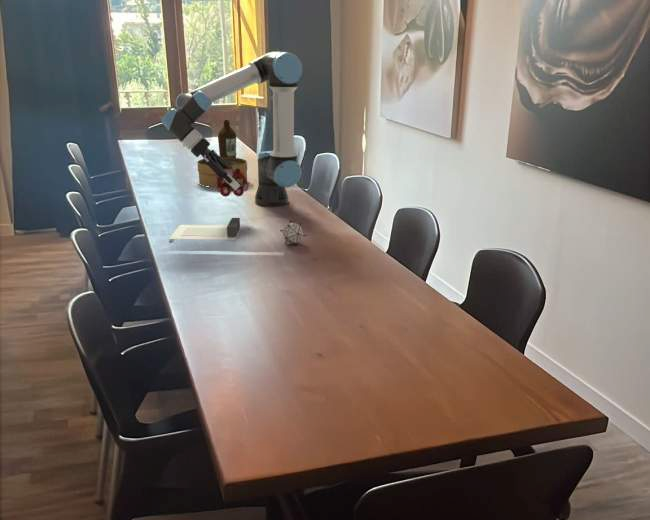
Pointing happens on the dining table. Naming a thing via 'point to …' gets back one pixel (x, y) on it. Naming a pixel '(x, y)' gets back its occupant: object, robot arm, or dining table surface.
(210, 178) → the steamer basket
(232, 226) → the grey rectangular block
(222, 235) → the mat
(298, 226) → the geodesic ball
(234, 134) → the olive oil
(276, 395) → the dining table surface
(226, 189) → the red toy car
